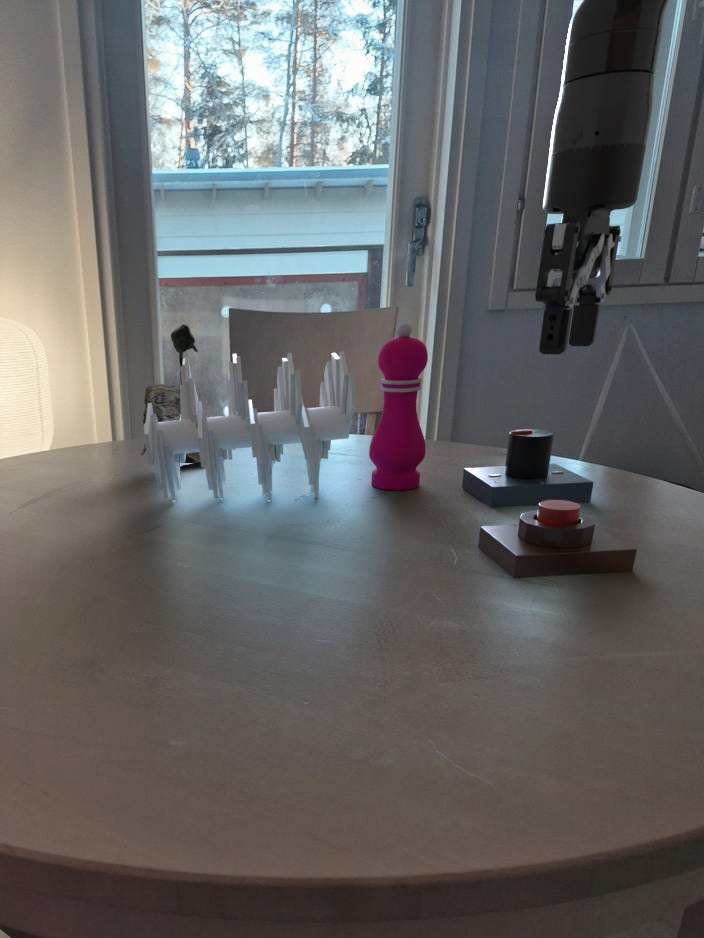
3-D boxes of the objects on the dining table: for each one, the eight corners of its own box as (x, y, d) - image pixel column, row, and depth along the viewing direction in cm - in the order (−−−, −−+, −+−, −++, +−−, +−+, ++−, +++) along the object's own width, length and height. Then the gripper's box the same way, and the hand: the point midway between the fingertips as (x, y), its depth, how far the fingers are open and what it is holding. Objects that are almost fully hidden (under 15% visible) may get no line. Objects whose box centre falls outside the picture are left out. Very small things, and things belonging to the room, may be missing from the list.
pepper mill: (357, 486, 99) (363, 324, 90) (386, 475, 104) (394, 320, 95) (404, 494, 94) (416, 324, 86) (433, 482, 99) (446, 320, 90)
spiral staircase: (161, 521, 101) (344, 506, 100) (142, 497, 84) (363, 478, 83) (151, 389, 101) (333, 372, 100) (129, 337, 84) (350, 315, 83)
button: (566, 516, 71) (569, 498, 71) (584, 527, 68) (588, 508, 67) (529, 518, 71) (532, 500, 70) (546, 529, 68) (549, 511, 67)
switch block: (584, 541, 75) (591, 503, 74) (632, 572, 67) (641, 529, 66) (477, 547, 75) (482, 508, 73) (513, 578, 67) (519, 536, 65)
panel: (552, 482, 97) (555, 462, 96) (590, 502, 88) (594, 480, 87) (461, 487, 96) (463, 466, 95) (490, 508, 87) (493, 485, 86)
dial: (537, 468, 93) (543, 425, 91) (555, 478, 89) (562, 432, 87) (498, 470, 93) (503, 427, 91) (514, 480, 89) (520, 435, 86)
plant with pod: (143, 461, 119) (132, 326, 110) (214, 457, 119) (208, 322, 110) (140, 472, 111) (128, 328, 103) (216, 468, 112) (209, 325, 103)
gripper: (622, 131, 56) (586, 358, 63) (665, 148, 66) (629, 343, 73) (522, 145, 61) (499, 356, 68) (576, 159, 70) (551, 343, 77)
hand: (567, 349), depth 70 cm, fingers open, 8 cm apart
